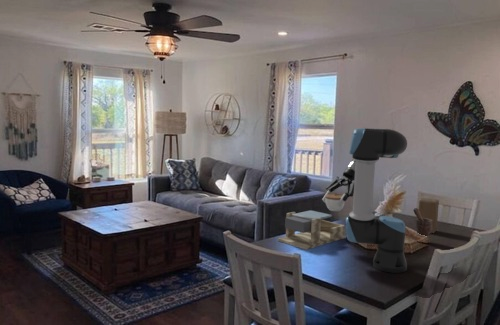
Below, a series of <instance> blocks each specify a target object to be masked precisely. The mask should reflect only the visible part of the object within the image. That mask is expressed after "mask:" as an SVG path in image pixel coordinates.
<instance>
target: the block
mask: <svg viewBox="0 0 500 325" xmlns="http://www.w3.org/2000/svg"><path fill="white" fill-rule="evenodd" d="M439 203H440V200H438V199H433V198H421V199H419V201H418V208H417V209H418V210H419V211H420V214H421V217H422V218H427V219H431V220H433V221H432V230H431V233H430V234H432V233H433V234H434V233H436V231H437V230H438V221H439V220H438V218H439V207H440V206H439V205H440V204H439Z"/></svg>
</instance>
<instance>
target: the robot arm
mask: <svg viewBox="0 0 500 325" xmlns="http://www.w3.org/2000/svg"><path fill="white" fill-rule="evenodd" d="M407 148H408V140H407V138H406V137H405V135H403V134H402V133H401V132H399V131H397V130H394V129H391V128H390V129H388V128H365V127H363V128H355V129H354V130H353V132H352V134H351V140H350V145H349V154H350V155H352V156H351V158H352V159H351V161H350V163H349V164H348V165H347V167H346V168H345V170H344V171H343V172H342V176H341V177H339V176H336V177H335V178H334V180H333V181H331V182H330V183H329V184H328V185H327V186H326V187H325V190H326V192H325V194H324V196H323V198H321V200H322V201H323V203H326V202H325V195H327V194H333V193H332V192H333V191H335V190H337V189H339V188H340V187H343V186H344V187H345V192H344V193H343V194H342V195H343V196H342V197H341V199H340V200H339V202H338V205H339V206H340V207H341V206H342V204H343V203H344V201H345V202H346V201H347V200H348V199H349V198H350V197H351V198H352V199H353V202H352V211H350V212H349V214H348V216H346V217H345V231H346V236H347V238H346V239H347V240H348V242H350V243H356V244H369V245H377V249H376V253H375V254H374V257H373V260H372V266H373V268H374V269H376V270H379V271H382V272H385V273H392V274H398V273H399V274H401V273H405V272H406V271H408V263H407V259H406V257H405V252H404V251H405V241H406V238H405V237H406V232H407V231H406V223H405V221H403V220H402V219H400V218H397V217H393V216H389V215H388V216H387V215H380V216H379V217H378V218H377V219H376V216H375V214H374V213H373V211H372V210H373V199H374V188H375V187H374V184H375V174H376V173H375V171H376V170H375V169H376V163H377V162H378V161H379V160H380V158H382V159H383V158H384V159H397V158H398V157H399V155H401V154H403V153H404V152H405V151H406V150H407Z"/></svg>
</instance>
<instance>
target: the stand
mask: <svg viewBox="0 0 500 325" xmlns="http://www.w3.org/2000/svg"><path fill="white" fill-rule="evenodd" d="M292 213H293V214H296V211H291V212H287V213H286V216H285V218H288V217H292ZM345 236H346V224H341V223H336V222H334V221H328V220H325V219H321V218H315V219H312V224H311V231H309V232H305V233H301V232H298V233H296V231H294V230H291V229H287V228H285V236H282V237H281V236H280V237H278V238H277V241H278V242H281V243H282V244H283V243H284V244H285V245H286V244H287V245H290V246H293V247H295V248H298V249H302V250H305V251H307V250H311V249H313V248H317V247H319V246H324V245H325V244H330V243H333V242H336V241H339V240H343V239H345Z"/></svg>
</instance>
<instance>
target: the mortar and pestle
mask: <svg viewBox="0 0 500 325" xmlns="http://www.w3.org/2000/svg"><path fill="white" fill-rule="evenodd" d="M418 209H419V208H417V207H416V208H415V207H414V209H412V210H413V213H414V215H415V216H416V219H415V230H416V233H417V234H418V233H419V234H421V235H425V236H427V238H429V235H430V234H431V233H430V232H431V230H432V221H433V220H431V219H427V218H422V217H421V214H420V211H419V210H418ZM419 234H418V235H419ZM429 241H430V239H429ZM430 242H431V241H430Z"/></svg>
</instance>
